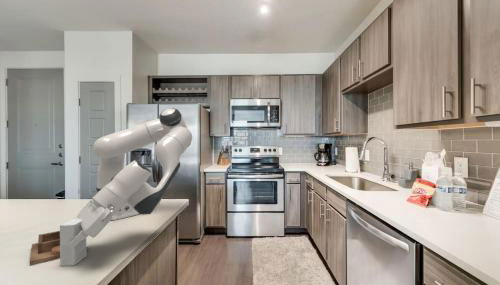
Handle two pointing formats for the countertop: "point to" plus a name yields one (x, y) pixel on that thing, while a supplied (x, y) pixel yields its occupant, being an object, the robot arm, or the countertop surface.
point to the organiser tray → (46, 248)
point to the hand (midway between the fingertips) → (71, 239)
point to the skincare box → (67, 251)
